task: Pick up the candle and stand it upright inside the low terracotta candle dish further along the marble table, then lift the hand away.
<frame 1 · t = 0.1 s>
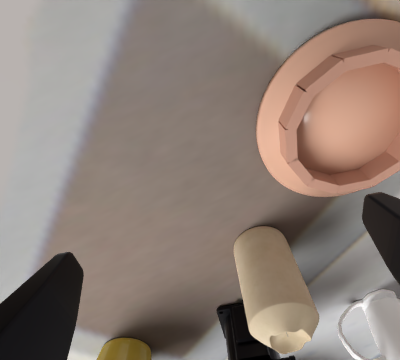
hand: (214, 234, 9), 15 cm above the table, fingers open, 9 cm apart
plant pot: (126, 348, 38), on the table
cup: (364, 300, 35), on the table
candle dish: (343, 120, 22), on the table
candle: (258, 244, 29), on the table
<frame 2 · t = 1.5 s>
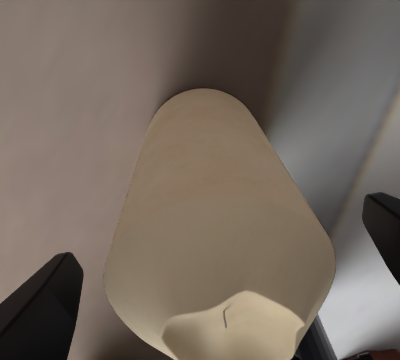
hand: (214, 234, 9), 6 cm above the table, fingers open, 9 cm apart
candle: (202, 141, 14), on the table
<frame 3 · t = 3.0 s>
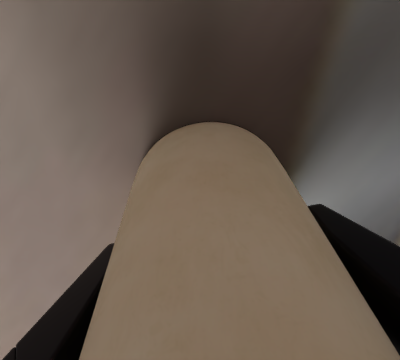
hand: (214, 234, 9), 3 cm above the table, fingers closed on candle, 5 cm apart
candle: (208, 186, 11), on the table, touching gripper
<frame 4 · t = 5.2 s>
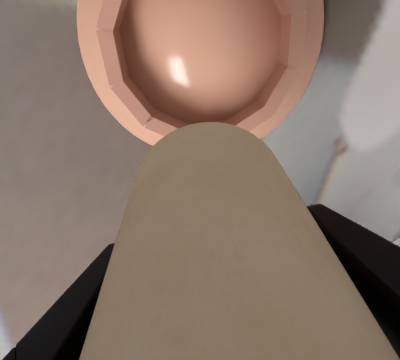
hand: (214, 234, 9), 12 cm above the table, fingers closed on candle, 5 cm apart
candle dish: (201, 45, 17), on the table
candle: (208, 185, 11), point 9 cm above the table, touching gripper
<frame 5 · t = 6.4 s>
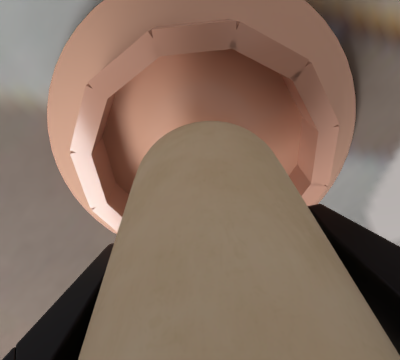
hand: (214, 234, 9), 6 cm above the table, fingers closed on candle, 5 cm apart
candle dish: (203, 145, 14), on the table
candle: (208, 184, 11), point 3 cm above the table, touching gripper
when the fingers open (4 cm above the table, at t = 7.6 s): candle drops 1 cm, resting on candle dish.
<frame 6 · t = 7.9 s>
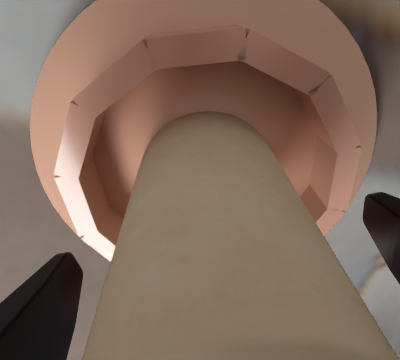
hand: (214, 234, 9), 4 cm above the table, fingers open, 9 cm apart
candle dish: (205, 164, 12), on the table
candle: (206, 170, 12), resting on candle dish
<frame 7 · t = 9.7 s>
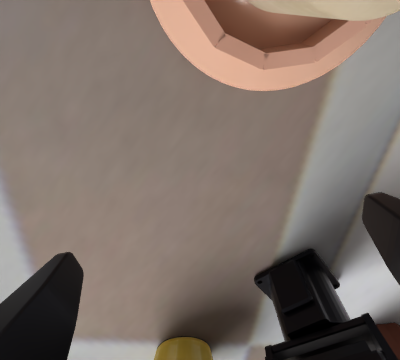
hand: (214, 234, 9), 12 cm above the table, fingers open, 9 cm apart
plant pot: (182, 348, 34), on the table
muffin: (372, 340, 36), on the table
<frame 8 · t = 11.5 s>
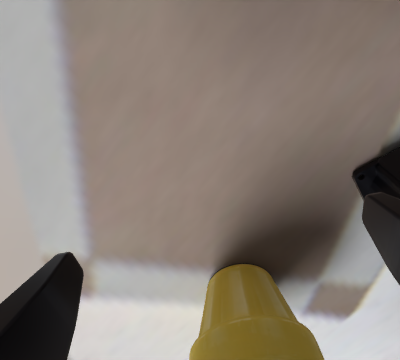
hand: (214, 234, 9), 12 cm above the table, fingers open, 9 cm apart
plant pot: (238, 284, 28), on the table
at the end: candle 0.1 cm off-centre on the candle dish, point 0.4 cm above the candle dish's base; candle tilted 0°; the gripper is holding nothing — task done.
